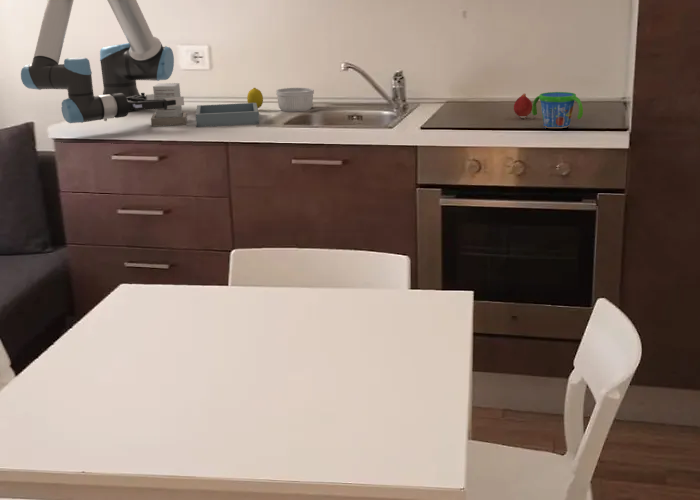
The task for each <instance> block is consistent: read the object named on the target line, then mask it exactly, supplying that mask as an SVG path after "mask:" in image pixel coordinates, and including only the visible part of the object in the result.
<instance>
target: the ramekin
mask: <svg viewBox="0 0 700 500" xmlns="http://www.w3.org/2000/svg"><path fill="white" fill-rule="evenodd" d="M275 93H276V97H277V98H276V99H277V104H278V108H279V109H280V111H282V112H287V113H288V112H291V113H293V112H294V113H295V112H296V113H297V112H306V111H310V110H311V109H312V107H313V102H314V101H313V99H314V94H315V91H314V89H313V88H310V87H287V88H286V87H284V88H279V89H276V91H275Z"/></svg>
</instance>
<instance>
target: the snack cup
mask: <svg viewBox="0 0 700 500" xmlns="http://www.w3.org/2000/svg"><path fill="white" fill-rule="evenodd" d="M539 101H540V106H541V108H540V109H541V117H542V123H543V127H544V126H547V127H564V126H568V125H571V121H572V116H573V110H574V103H575V102H576V103H577V107H578V111H577V117H576V118H577V120H580V119H582V117H583V115H584V108H583V104H582V100H581V99H580V97H578V96H577V95H576V93H575V92H567V91H565V92H564V91H554V92H553V91H552V92H551V91H550V92H549V91H548V92H543V93H542V92H541V93H540V94H539V95H538V96H536V97H535V98H534V100H533V103H532V111H531V113H532V115H533V116H536V115H538V108H537V103H538V102H539Z"/></svg>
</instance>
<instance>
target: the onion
mask: <svg viewBox="0 0 700 500" xmlns="http://www.w3.org/2000/svg"><path fill="white" fill-rule="evenodd" d="M532 106H533V103H532V101H531V99H529V97H527V95H526V93H522V95H521V96H519V97H518V98H517V99H516V100H515V102H514V104H513V112H514V114H516V116H518V117H519V116H526V117H528V116H529V115H530V114H531V113H532Z"/></svg>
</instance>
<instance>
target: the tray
mask: <svg viewBox="0 0 700 500" xmlns="http://www.w3.org/2000/svg"><path fill="white" fill-rule="evenodd" d="M259 112H260V111H259V108H257V104H256V103H248V102H246V103H245V102H243V103H223V104H221V103H219V104H218V103H217V104H201V105H199V104H198V105H197V106H196V110H195V123H196V125H195V126H196V128H204V127H205V126H209V127H225V126H228V127H229V126H242V125H243V126H244V125H245V126H247V125H260V114H259ZM205 128H206V127H205Z"/></svg>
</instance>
